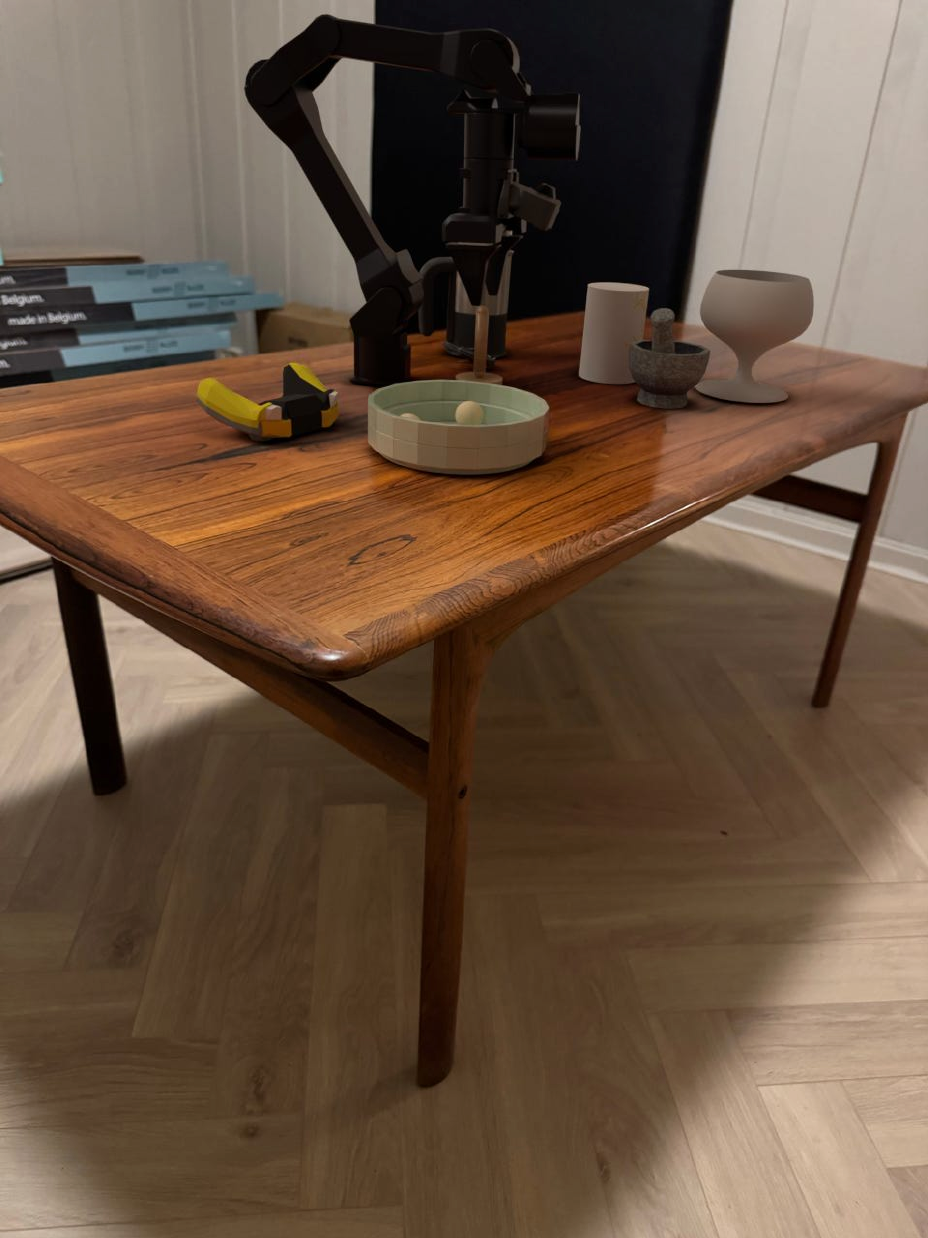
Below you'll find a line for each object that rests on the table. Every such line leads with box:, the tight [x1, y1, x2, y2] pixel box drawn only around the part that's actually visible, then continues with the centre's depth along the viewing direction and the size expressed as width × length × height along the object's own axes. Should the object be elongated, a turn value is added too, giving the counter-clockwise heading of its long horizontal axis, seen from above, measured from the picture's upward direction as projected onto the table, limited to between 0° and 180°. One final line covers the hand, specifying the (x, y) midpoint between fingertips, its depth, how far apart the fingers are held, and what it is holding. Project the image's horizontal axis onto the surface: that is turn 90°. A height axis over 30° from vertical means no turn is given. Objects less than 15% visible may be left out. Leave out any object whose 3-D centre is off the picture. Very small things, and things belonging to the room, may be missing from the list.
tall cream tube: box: [578, 282, 650, 385], centre depth 126 cm, size 8×8×12 cm
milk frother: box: [417, 249, 515, 366], centre depth 132 cm, size 14×16×15 cm
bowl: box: [367, 379, 550, 476], centre depth 94 cm, size 18×18×5 cm
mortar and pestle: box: [628, 307, 711, 410], centre depth 114 cm, size 11×9×12 cm
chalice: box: [694, 269, 815, 404], centre depth 120 cm, size 14×14×15 cm
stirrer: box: [455, 306, 503, 385], centre depth 116 cm, size 6×6×10 cm
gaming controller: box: [196, 361, 340, 442], centre depth 98 cm, size 15×6×10 cm
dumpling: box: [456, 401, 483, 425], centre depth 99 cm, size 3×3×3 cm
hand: (484, 300), depth 114 cm, fingers open, 9 cm apart
